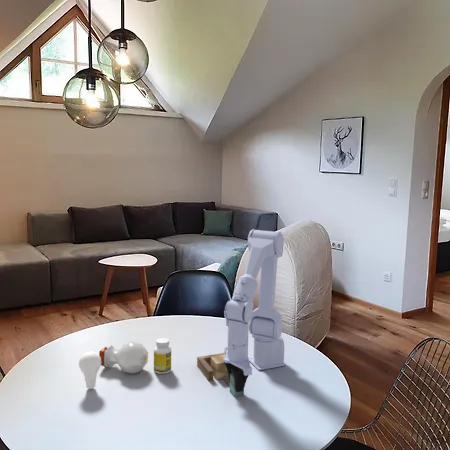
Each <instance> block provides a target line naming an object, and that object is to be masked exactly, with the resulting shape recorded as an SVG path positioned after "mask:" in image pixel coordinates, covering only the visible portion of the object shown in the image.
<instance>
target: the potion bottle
mask: <svg viewBox="0 0 450 450" xmlns="http://www.w3.org/2000/svg"><path fill="white" fill-rule="evenodd" d="M98 355H99V356H100V358H101V367H104V368H106V367H108V368H110V369H112V368H113V367H114V366H115V365H118V366H119V368H120V369H121V371H122V372H125V373H127V374H131V375H133V374H136V373H140V372H142V371H143V370H144V368H145V367H146V365H147V364H148V362H149V352H148V350H147V348H146V347H145V345H144V344H142V343H139V342H137V341H130V342H127V343H125V344H123V345H122V346H121V348H120V349H116V348H115V347H114V345H110V346H109V347H108V346H105V347H104V348H101V350H99V353H98Z"/></svg>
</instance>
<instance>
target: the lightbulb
mask: <svg viewBox="0 0 450 450" xmlns="http://www.w3.org/2000/svg"><path fill="white" fill-rule="evenodd" d="M78 367H79V370H80V371H81V372H82V374H83V376H84V381H85V387H86V389H89V390H93V389H94V388H95V387H96V383H97V382H96V381H97V375H98V372H99V370H100V368H101V367H102V365H101V358H100V356H99V353H98V352H95V351H87V352H85V353H83V354H82V355H81V356H80V358H79V361H78Z"/></svg>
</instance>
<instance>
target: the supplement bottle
mask: <svg viewBox="0 0 450 450" xmlns="http://www.w3.org/2000/svg"><path fill="white" fill-rule="evenodd" d="M155 345H156V346H154V348H153V372H155V373H156V374H160V375H164V374H165V375H166V374H169V373H170V372H171V371H172V347H171V346H170V339H168V338H166V337H161V338H157V339H156V341H155Z"/></svg>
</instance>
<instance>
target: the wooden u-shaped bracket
mask: <svg viewBox="0 0 450 450" xmlns="http://www.w3.org/2000/svg"><path fill="white" fill-rule="evenodd" d="M220 355H225V354H224V352H222V353H214V354H207V355H202V356H197V357H196V362H197V363H196V367H197V368H198V369H199V370H200V372H201V373H202V375H203V376H204V377H205V379H206V380H207V381H208V382H211V381H214V376H213V370H212V368H211V357H214V356H220Z"/></svg>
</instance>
